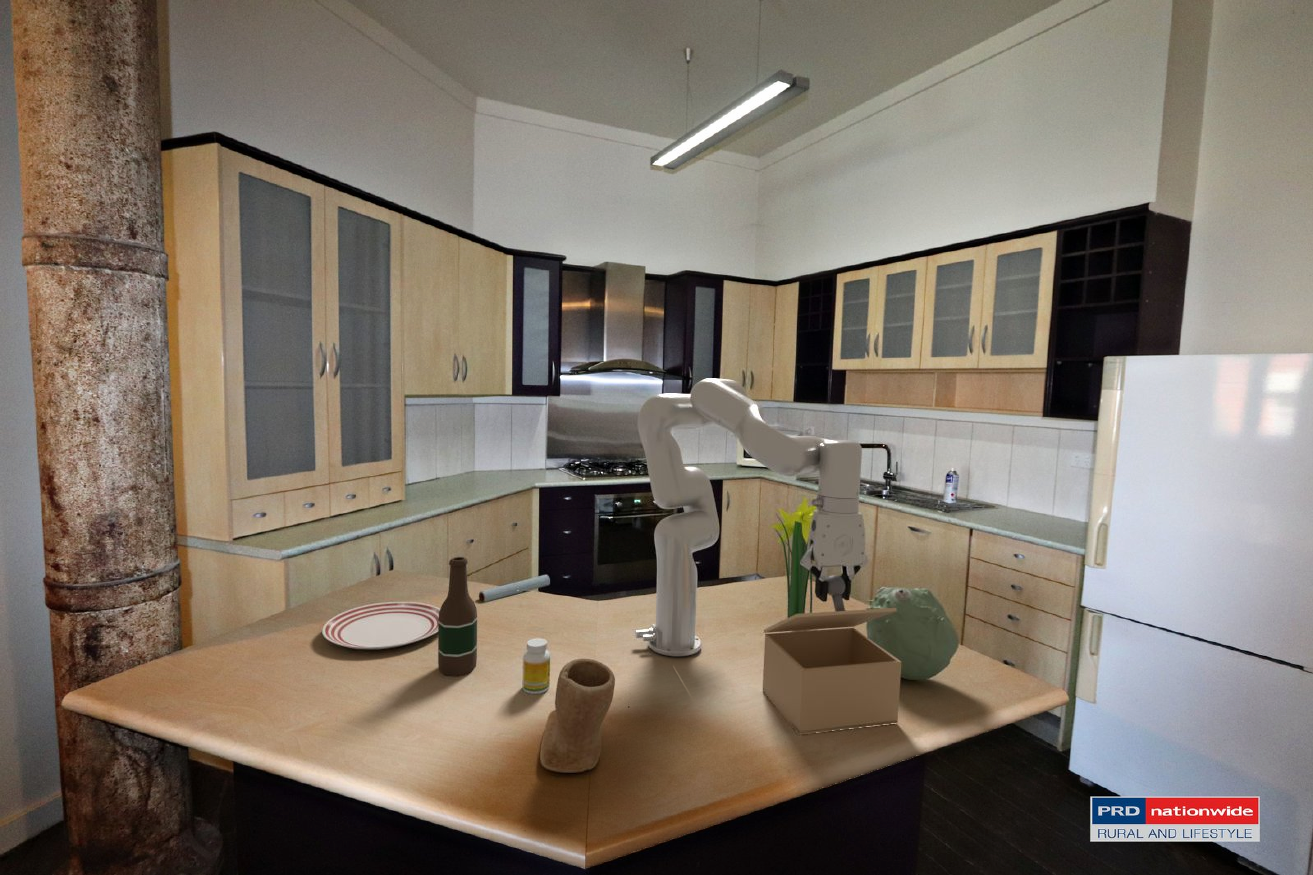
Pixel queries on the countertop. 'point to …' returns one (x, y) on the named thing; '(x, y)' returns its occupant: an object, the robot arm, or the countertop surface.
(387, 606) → the dinner plate
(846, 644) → the carton
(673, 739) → the countertop surface
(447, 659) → the beer bottle
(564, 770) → the brown boot
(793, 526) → the daffodil flowers
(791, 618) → the lid
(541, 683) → the supplement bottle
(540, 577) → the aluminum foil
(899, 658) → the green lumpy rounded blob
